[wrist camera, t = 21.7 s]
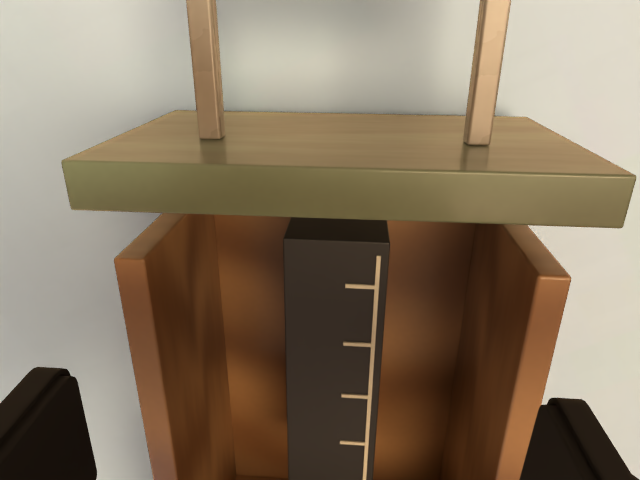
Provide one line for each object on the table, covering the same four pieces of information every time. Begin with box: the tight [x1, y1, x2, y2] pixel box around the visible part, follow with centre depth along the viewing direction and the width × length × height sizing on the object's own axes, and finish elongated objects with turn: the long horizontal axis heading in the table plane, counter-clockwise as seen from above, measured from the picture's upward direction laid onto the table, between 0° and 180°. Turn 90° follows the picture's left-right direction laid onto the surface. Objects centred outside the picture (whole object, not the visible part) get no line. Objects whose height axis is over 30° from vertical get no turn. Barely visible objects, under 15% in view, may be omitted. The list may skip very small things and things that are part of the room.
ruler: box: [283, 217, 390, 480], centre depth 17 cm, size 11×3×4 cm, turn 179°
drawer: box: [61, 0, 636, 480], centre depth 16 cm, size 23×12×7 cm, turn 0°
